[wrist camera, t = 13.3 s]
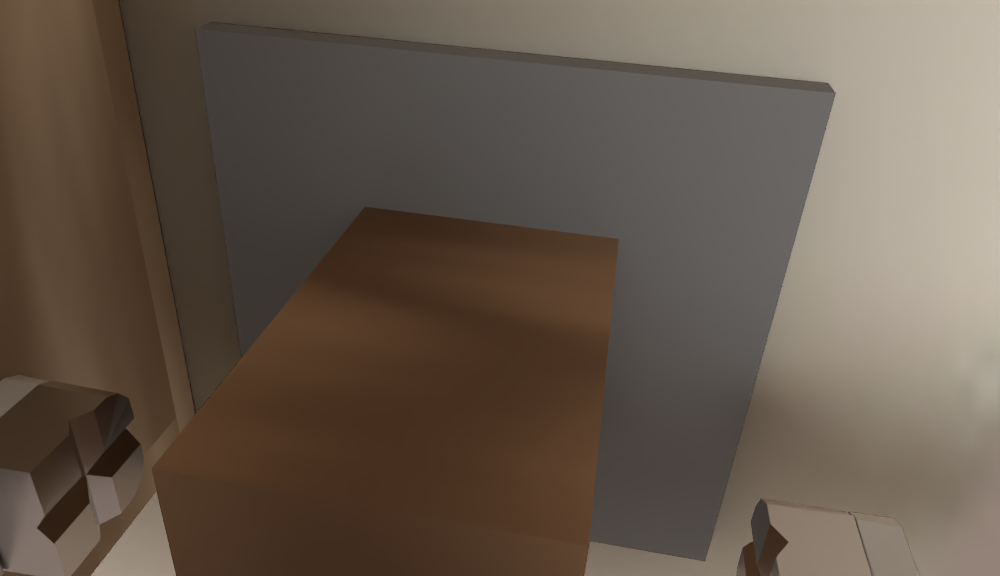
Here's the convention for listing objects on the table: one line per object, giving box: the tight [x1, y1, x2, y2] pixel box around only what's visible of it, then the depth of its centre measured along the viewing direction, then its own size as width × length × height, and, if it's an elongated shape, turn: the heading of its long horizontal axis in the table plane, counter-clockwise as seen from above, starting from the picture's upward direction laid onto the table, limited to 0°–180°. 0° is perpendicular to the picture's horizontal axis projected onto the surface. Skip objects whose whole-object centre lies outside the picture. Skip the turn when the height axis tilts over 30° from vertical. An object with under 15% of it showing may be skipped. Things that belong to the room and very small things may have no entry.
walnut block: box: [151, 207, 619, 576], centre depth 10 cm, size 4×4×6 cm
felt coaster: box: [195, 22, 836, 561], centre depth 13 cm, size 9×9×1 cm
